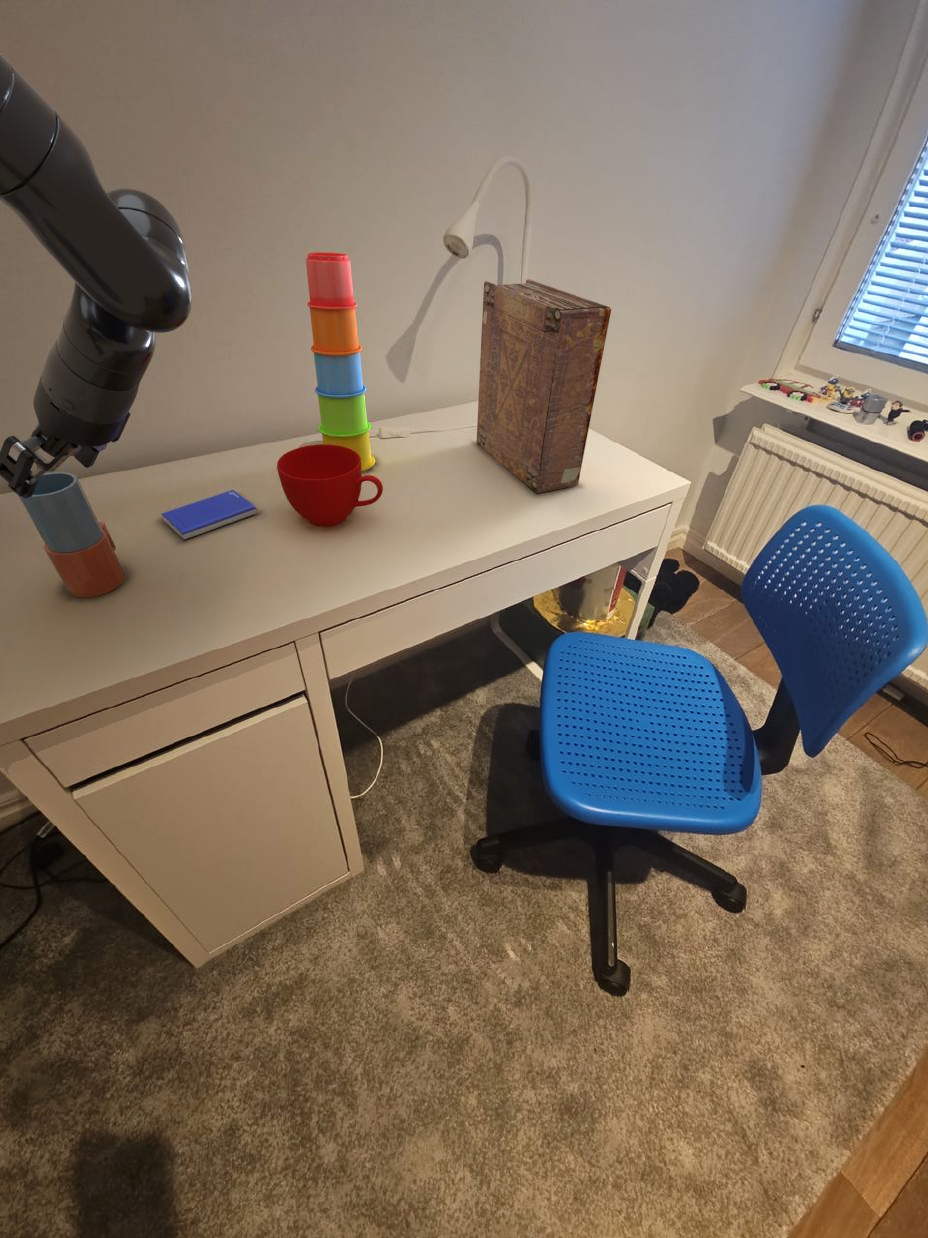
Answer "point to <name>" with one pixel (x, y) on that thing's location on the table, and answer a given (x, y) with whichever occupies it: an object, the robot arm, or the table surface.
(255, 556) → the table surface
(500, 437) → the book
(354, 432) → the stacking cups
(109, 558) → the mug
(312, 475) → the ceramic cup
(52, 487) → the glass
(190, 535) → the hard drive
